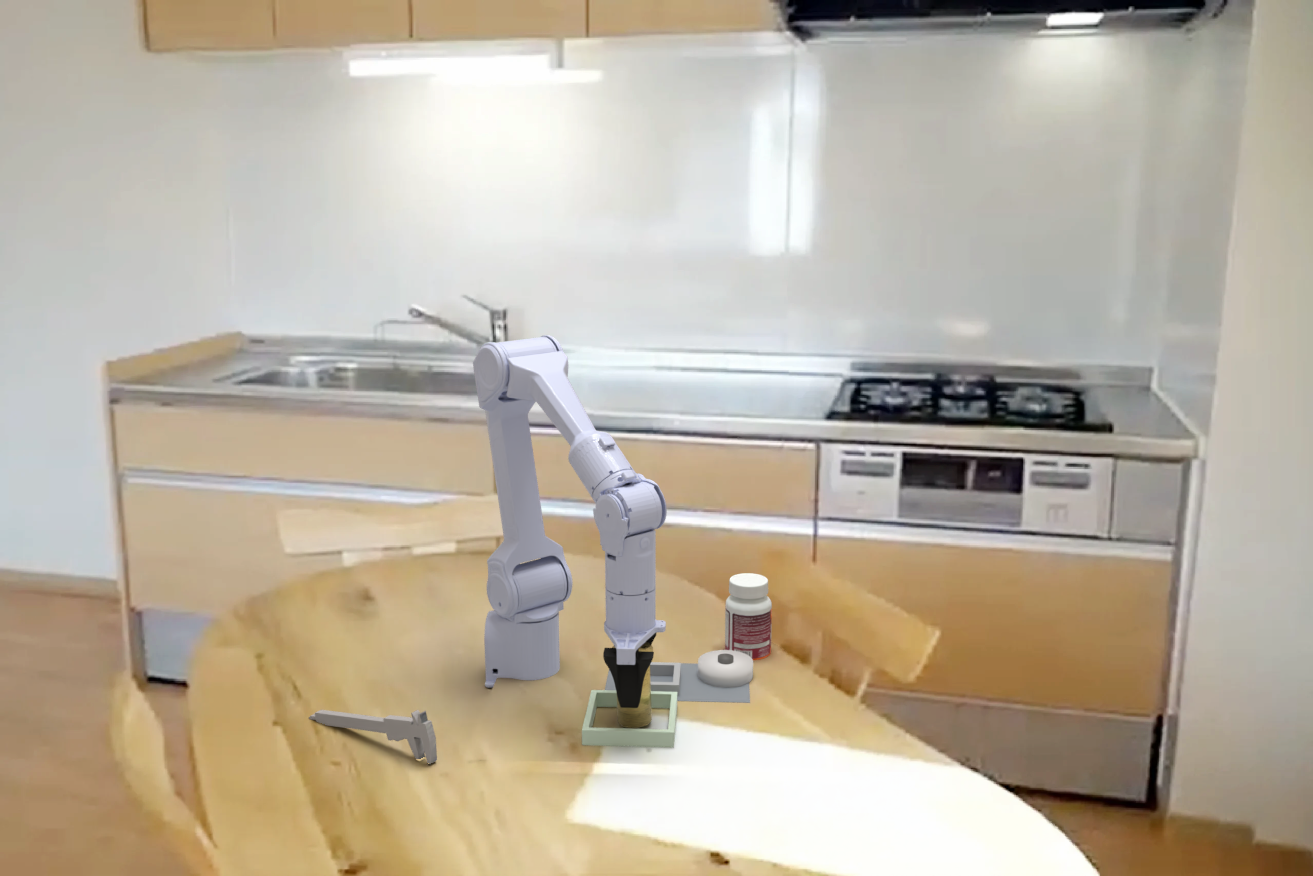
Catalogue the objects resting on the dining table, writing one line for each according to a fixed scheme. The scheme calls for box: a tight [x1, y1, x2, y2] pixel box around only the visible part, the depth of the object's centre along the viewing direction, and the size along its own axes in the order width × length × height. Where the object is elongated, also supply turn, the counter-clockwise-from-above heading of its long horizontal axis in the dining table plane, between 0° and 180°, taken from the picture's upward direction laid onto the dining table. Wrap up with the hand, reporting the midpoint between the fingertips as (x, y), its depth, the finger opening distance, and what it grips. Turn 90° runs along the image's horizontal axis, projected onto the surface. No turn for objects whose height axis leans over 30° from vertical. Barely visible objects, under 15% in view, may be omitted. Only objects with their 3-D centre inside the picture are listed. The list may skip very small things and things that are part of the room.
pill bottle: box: [724, 572, 773, 661], centre depth 163 cm, size 6×6×11 cm
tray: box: [581, 689, 678, 749], centre depth 144 cm, size 10×10×3 cm
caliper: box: [308, 709, 438, 765], centre depth 142 cm, size 20×1×6 cm, turn 56°
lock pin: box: [611, 642, 654, 729], centre depth 143 cm, size 5×5×9 cm
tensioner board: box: [604, 649, 754, 704], centre depth 155 cm, size 18×11×4 cm, turn 87°
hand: (631, 697), depth 143 cm, fingers closed on lock pin, 4 cm apart
